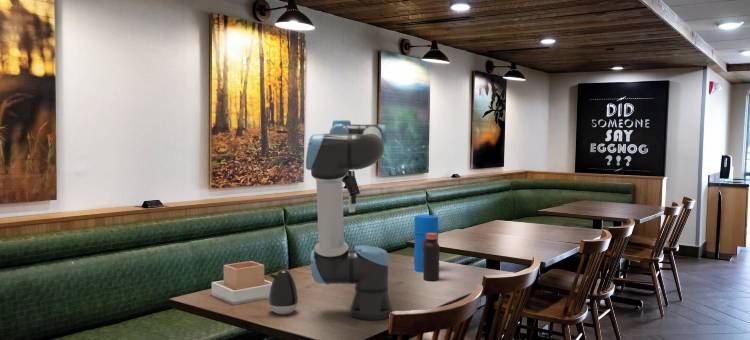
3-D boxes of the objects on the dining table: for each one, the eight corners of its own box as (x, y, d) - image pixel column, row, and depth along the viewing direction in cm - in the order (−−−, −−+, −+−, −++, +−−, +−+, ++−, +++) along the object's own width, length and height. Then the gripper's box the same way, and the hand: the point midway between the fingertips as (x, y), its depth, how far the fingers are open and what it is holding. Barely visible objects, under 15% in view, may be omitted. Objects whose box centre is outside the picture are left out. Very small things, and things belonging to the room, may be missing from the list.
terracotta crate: (264, 293, 230) (264, 265, 230) (236, 298, 223) (235, 269, 222) (251, 288, 238) (251, 260, 237) (223, 293, 230) (223, 265, 230)
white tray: (276, 296, 229) (276, 283, 229) (233, 305, 218) (233, 291, 217) (252, 287, 243) (252, 275, 243) (211, 295, 231) (211, 282, 231)
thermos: (442, 270, 276) (442, 216, 275) (428, 273, 269) (428, 218, 267) (423, 266, 284) (424, 214, 282) (409, 270, 276) (409, 216, 275)
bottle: (431, 282, 253) (431, 235, 252) (420, 279, 258) (420, 233, 257) (442, 279, 258) (442, 233, 257) (430, 276, 263) (431, 231, 262)
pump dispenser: (263, 311, 210) (263, 268, 209) (289, 306, 216) (289, 265, 215) (276, 318, 202) (275, 274, 201) (303, 313, 208) (303, 270, 207)
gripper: (368, 158, 234) (368, 212, 235) (330, 157, 253) (330, 206, 254) (353, 159, 229) (353, 214, 230) (316, 157, 248) (316, 208, 249)
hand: (341, 210), depth 242 cm, fingers open, 13 cm apart
